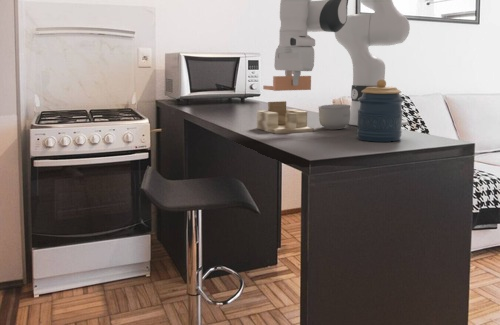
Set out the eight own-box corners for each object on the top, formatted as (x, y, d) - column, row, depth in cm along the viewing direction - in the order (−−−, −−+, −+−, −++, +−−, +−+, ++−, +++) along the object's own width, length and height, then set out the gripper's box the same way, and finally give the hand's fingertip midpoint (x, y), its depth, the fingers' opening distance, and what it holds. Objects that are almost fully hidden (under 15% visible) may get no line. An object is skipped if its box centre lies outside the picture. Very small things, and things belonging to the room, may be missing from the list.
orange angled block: (262, 89, 164) (262, 75, 163) (295, 88, 169) (296, 75, 169) (275, 90, 155) (275, 76, 154) (310, 89, 160) (311, 75, 160)
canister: (355, 135, 154) (357, 78, 150) (398, 136, 151) (401, 78, 148) (357, 142, 141) (360, 80, 137) (404, 143, 139) (408, 80, 135)
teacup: (349, 131, 163) (350, 107, 161) (316, 130, 165) (317, 106, 163) (349, 125, 176) (350, 103, 175) (319, 124, 178) (320, 102, 177)
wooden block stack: (257, 128, 169) (257, 102, 167) (294, 126, 175) (294, 100, 173) (274, 133, 156) (275, 105, 155) (314, 131, 162) (315, 104, 160)
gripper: (270, 42, 164) (269, 84, 166) (300, 39, 145) (299, 86, 148) (286, 42, 166) (286, 83, 169) (318, 40, 148) (317, 86, 151)
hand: (292, 85), depth 158 cm, fingers closed on orange angled block, 2 cm apart
